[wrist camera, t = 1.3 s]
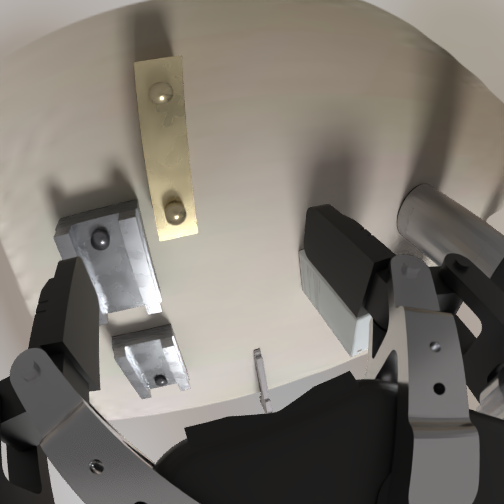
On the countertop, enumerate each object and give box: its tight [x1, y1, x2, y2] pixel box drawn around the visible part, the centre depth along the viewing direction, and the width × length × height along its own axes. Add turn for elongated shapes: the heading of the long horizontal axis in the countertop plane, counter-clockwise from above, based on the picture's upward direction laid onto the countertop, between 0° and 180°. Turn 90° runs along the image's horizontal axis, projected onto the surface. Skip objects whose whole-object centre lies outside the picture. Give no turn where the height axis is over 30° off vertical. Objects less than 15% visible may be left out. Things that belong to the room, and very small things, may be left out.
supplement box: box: [299, 249, 372, 357], centre depth 33 cm, size 7×7×13 cm
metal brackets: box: [54, 199, 191, 399], centre depth 31 cm, size 8×28×4 cm, turn 1°
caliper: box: [254, 349, 272, 414], centre depth 48 cm, size 20×1×6 cm, turn 4°
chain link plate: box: [134, 56, 198, 241], centre depth 21 cm, size 3×14×6 cm, turn 1°
